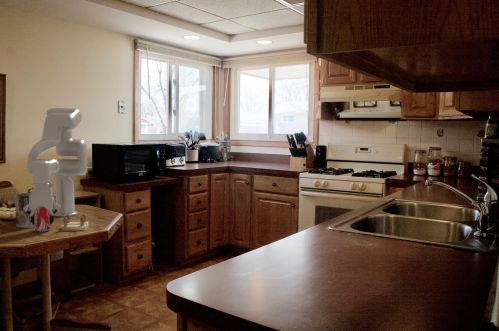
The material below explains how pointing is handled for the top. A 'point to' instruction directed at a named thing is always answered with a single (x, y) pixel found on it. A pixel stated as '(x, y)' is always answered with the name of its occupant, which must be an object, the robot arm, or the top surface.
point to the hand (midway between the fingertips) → (42, 223)
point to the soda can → (42, 219)
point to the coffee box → (23, 211)
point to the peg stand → (74, 224)
